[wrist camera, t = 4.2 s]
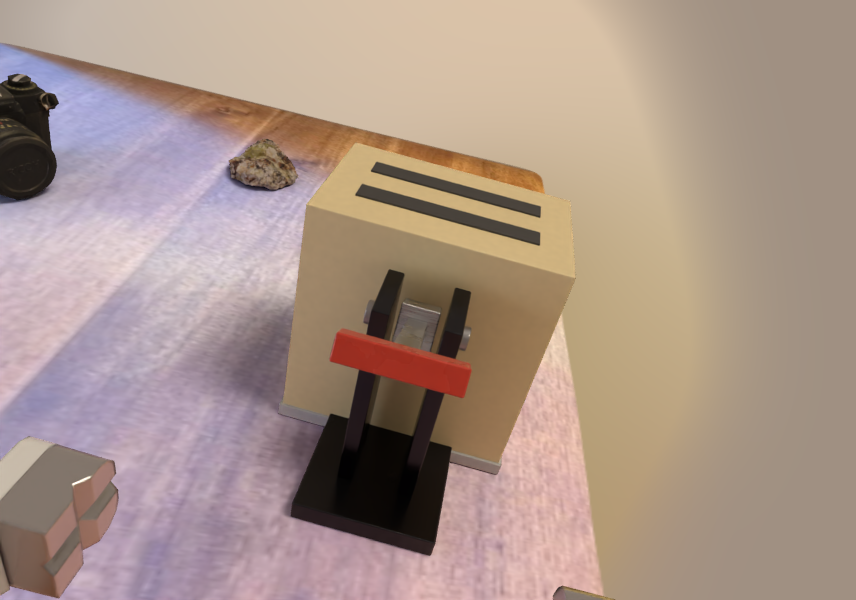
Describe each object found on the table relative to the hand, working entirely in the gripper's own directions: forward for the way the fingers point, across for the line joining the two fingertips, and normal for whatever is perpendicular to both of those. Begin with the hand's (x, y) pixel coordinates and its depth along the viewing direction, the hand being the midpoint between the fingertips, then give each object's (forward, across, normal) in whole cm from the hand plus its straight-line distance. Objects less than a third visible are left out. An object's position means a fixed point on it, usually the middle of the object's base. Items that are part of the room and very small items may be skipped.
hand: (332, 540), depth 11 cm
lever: (+17, 0, +10) cm, 19 cm away
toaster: (+31, 0, +24) cm, 39 cm away
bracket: (+22, 0, +24) cm, 32 cm away
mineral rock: (+61, +24, +24) cm, 70 cm away
